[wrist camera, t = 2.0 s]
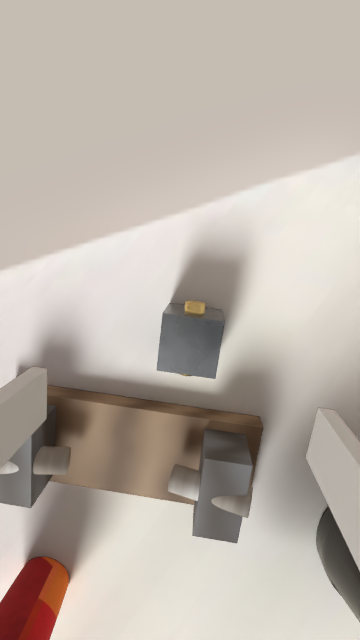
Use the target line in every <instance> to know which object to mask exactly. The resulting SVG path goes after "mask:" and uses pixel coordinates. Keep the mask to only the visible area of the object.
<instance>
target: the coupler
mask: <svg viewBox="0 0 360 640" xmlns="http://www.w3.org/2000/svg"><path fill="white" fill-rule="evenodd" d="M205 307H206V303H204V302H201V301H194V300H187V301H186V302H185V305H181V304H174V303H169V305H168V306H167V308H166V309H165V311H164V312H163V317H162V326H161V335H160V344H159V353H158V362H157V371H164V372H171V373H178V374H181V375H184V376H199V377H206V378H213V379H215V378H216V372H217V365H218V359H219V353H220V346H221V340H222V334H223V327H224V318H223V314H222V311H221V310H219V309H211V308H205Z"/></svg>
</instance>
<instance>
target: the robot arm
mask: <svg viewBox="0 0 360 640" xmlns="http://www.w3.org/2000/svg"><path fill="white" fill-rule="evenodd" d="M46 419H47V369H46V368H39V367H31V368H29V369H28V370H27V371H25V372H24V373H22V374H21V375H19V376H18V377H16V378H15V379H14V380H12V381H11V382H9V383H8V384H6V385H5V386H3V387H2V388H0V468H1V467H2V466H3V465H4V464H5V463H6V462H7V461H8V460H9V459H10V458H11V457H12V456H13V454H14V453H15V452H16V451H17V450H18V449H19V448H20V447H21V446H22V445H23V444H24V443H25V441H26V440H27V439H28V438H29V437H30V436H31V435H32V434H33V433H34V432H35V431H36V430H37V428H38V427H39V426H40V425H41V424H42V423H43V422H44V421H45V420H46ZM306 460H307V462H308V464H309V466H310V468H311V470H312V472H313V474H314V477H315V479H316V481H317V483H318V485H319V487H320V489H321V491H322V493H323V495H324V497H325V500H326V502H327V504H328V506H329V508H328V509H327V510H326V512H325V513H324V515H323V516H322V518H321V520H320V523H319V526H318V530H317V536H316V543H317V549H318V553H319V556H320V559H321V561H322V564H323V567H324V569H325V572H326V574H327V576H328V578H329V580H330V582H331V584H332V585H333V586H334V588H335V589H336V590H337V591H338V593H339V594H340V595H341V596H342V597H343V599H344V600H345V602H346V603H347V605H348V606H349V608H350V609H351V610H352V612H353V613H354V615H355V616H356V618H357V619H358V620H359V622H360V441H359V440H358V439H357V437H356V436H355V435H354V434H353V432H352V431H351V430H350V429H349V427H348V426H347V425H346V424H345V422H344V421H343V420H342V419H341V417H340V416H339V415H338V414H337V412H336V411H335V410H331V409H324V408H318V410H317V414H316V418H315V422H314V426H313V430H312V434H311V438H310V443H309V447H308V451H307V455H306Z"/></svg>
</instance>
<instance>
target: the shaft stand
mask: <svg viewBox="0 0 360 640" xmlns="http://www.w3.org/2000/svg"><path fill="white" fill-rule="evenodd" d="M262 431H263V426H262V423H261V420H260V417H257V416H251V415H244V414H237V413H231V412H224V411H217V410H210V409H204V408H197V407H190V406H184V405H177V404H170V403H163V402H157V401H150V400H143V399H137V398H130V397H123V396H117V395H110V394H103V393H96V392H90V391H83V390H76V389H70V388H63V387H56V386H49V385H47V419H46V420H45V421H44V422H43V423H42V424H41V425H40V426H39V427H38V428H37V430H36V431H35V432H34V433H33V434H32V435H31V436H30V437H29V438H28V439H27V440H26V441H25V443H24V444H23V445H22V446H21V447H20V448H19V449H18V450H17V451H16V452H15V453H14V454H13V456H12V457H11V458H10V459H9V460H8V461H7V462H6V463H5V464H4V465H3V466H2V467H1V468H0V503H4V504H10V505H16V506H21V507H27V508H31V507H32V506H33V504H34V503H35V501H36V500H37V498H38V497H39V495H40V494H41V492H42V491H43V489H44V488H45V486H46V485H47V483H48V482H49V481H53V482H59V483H65V484H71V485H77V486H84V487H90V488H96V489H102V490H108V491H114V492H120V493H126V494H132V495H138V496H144V497H150V498H156V499H162V500H168V501H174V502H180V503H186V504H192V505H194V513H193V535H192V536H197V537H203V538H209V539H215V540H221V541H227V542H233V543H237V541H238V536H239V531H240V526H241V522H242V517H246V518H248V516H249V511H250V505H251V499H252V490H253V487H251V485H252V480H253V475H254V470H255V465H256V460H257V455H258V450H259V446H260V441H261V436H262Z"/></svg>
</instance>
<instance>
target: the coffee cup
mask: <svg viewBox="0 0 360 640" xmlns="http://www.w3.org/2000/svg"><path fill="white" fill-rule="evenodd" d="M68 583H69V575H68V572H67V570H66V569H65V567H64V566H63V565H62V564H61V563H59V562H58V561H56V560H54V559H52V558H49V557H36V558H33V559H31V560H29V561H28V562H27V563H26V565H25V566H24V567H23V569H22V570H21V572H20V573H19V575H18V576H17V578H16V579H15V581H14V582H13V584H12V585H11V587H10V588H9V590H8V592H7V593H6V595H5V596H4V598H3V599H2V601H1V602H0V640H49V639H50V637H51V634H52V631H53V628H54V625H55V622H56V619H57V616H58V614H59V611H60V608H61V605H62V602H63V599H64V596H65V593H66V590H67V587H68Z"/></svg>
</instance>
